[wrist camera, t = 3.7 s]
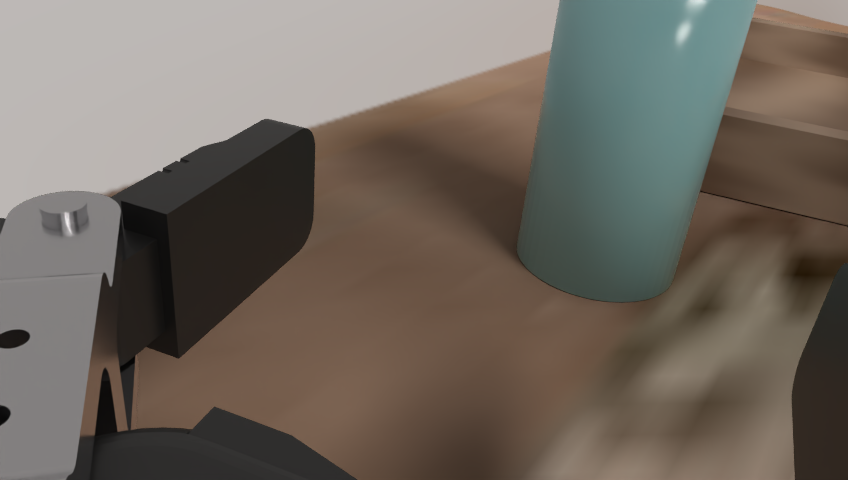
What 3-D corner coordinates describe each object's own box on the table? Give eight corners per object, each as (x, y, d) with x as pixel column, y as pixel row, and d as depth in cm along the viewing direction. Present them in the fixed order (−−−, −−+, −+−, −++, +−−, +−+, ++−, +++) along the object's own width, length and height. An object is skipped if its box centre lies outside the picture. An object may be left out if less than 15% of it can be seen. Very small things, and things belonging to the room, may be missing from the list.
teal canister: (681, 243, 25) (780, -88, 20) (664, 320, 21) (782, -69, 16) (537, 207, 26) (597, -113, 21) (497, 273, 22) (558, -100, 17)
